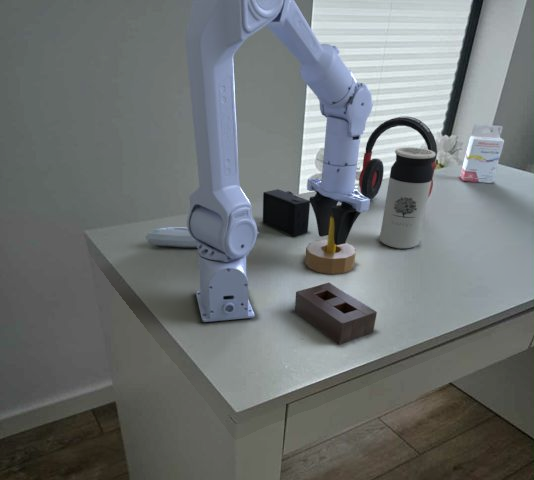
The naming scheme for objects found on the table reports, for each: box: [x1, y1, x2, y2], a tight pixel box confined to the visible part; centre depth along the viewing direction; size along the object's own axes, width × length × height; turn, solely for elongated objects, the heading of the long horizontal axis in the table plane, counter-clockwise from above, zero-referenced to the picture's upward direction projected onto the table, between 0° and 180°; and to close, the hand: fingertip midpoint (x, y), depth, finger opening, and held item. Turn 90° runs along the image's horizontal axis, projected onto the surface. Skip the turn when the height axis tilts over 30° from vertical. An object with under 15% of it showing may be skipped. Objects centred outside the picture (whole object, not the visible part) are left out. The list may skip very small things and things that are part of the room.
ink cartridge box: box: [459, 124, 505, 184], centre depth 142 cm, size 9×5×15 cm, turn 82°
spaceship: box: [144, 226, 260, 248], centre depth 98 cm, size 23×7×4 cm, turn 107°
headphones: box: [358, 115, 438, 200], centre depth 119 cm, size 18×10×20 cm, turn 58°
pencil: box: [327, 214, 336, 253], centre depth 90 cm, size 2×2×10 cm
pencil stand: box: [294, 282, 378, 345], centre depth 74 cm, size 6×11×4 cm, turn 33°
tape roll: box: [304, 239, 357, 275], centre depth 92 cm, size 9×9×3 cm
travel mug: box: [379, 146, 436, 249], centre depth 98 cm, size 8×8×18 cm
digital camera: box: [262, 188, 311, 238], centre depth 106 cm, size 10×5×7 cm, turn 40°
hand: (332, 239), depth 90 cm, fingers open, 4 cm apart
